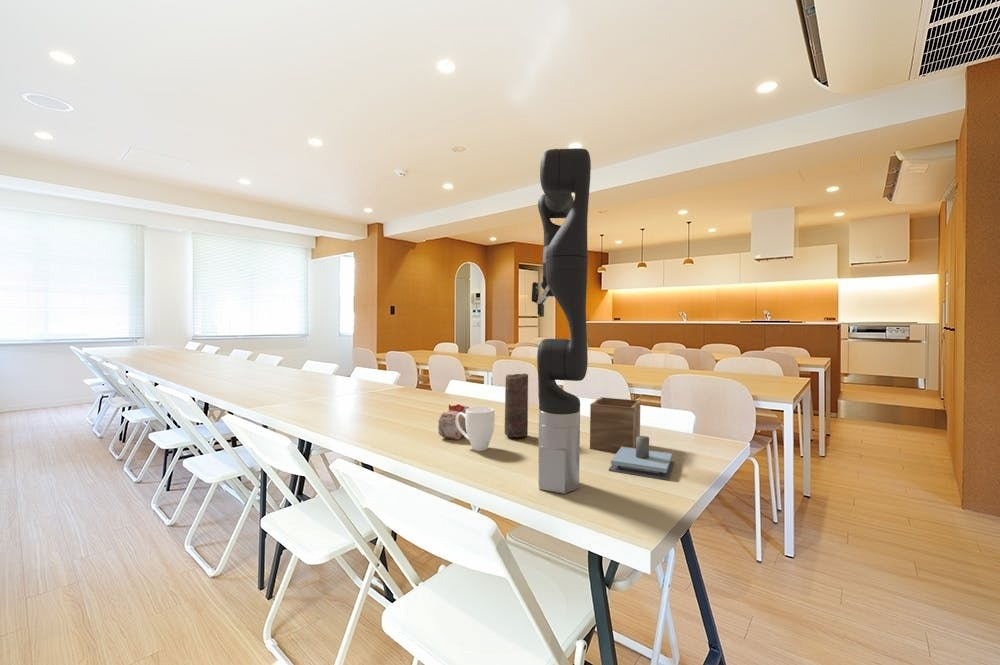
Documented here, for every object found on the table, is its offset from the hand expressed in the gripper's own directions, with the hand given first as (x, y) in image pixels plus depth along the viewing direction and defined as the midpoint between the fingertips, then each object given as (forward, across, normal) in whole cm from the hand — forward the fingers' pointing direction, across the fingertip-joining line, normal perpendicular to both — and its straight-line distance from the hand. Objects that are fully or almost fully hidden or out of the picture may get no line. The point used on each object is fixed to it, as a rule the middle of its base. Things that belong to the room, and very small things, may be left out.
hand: (555, 316), depth 130 cm
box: (+38, +17, +6) cm, 42 cm away
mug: (+38, -19, -15) cm, 45 cm away
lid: (+38, +27, -8) cm, 47 cm away
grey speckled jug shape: (+38, -31, -6) cm, 50 cm away
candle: (+38, -13, +1) cm, 40 cm away
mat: (+38, +27, -8) cm, 47 cm away
